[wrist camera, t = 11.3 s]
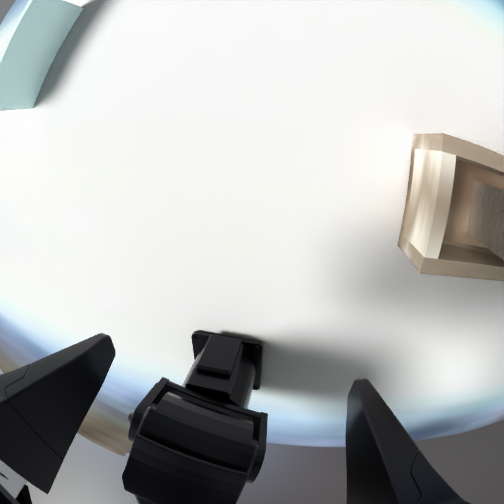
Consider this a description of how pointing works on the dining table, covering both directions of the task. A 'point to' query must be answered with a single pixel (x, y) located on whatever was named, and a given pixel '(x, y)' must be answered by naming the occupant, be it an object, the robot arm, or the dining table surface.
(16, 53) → the l-shaped corner panel
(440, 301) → the dining table surface
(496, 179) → the beige tray
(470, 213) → the light grey rectangular block
